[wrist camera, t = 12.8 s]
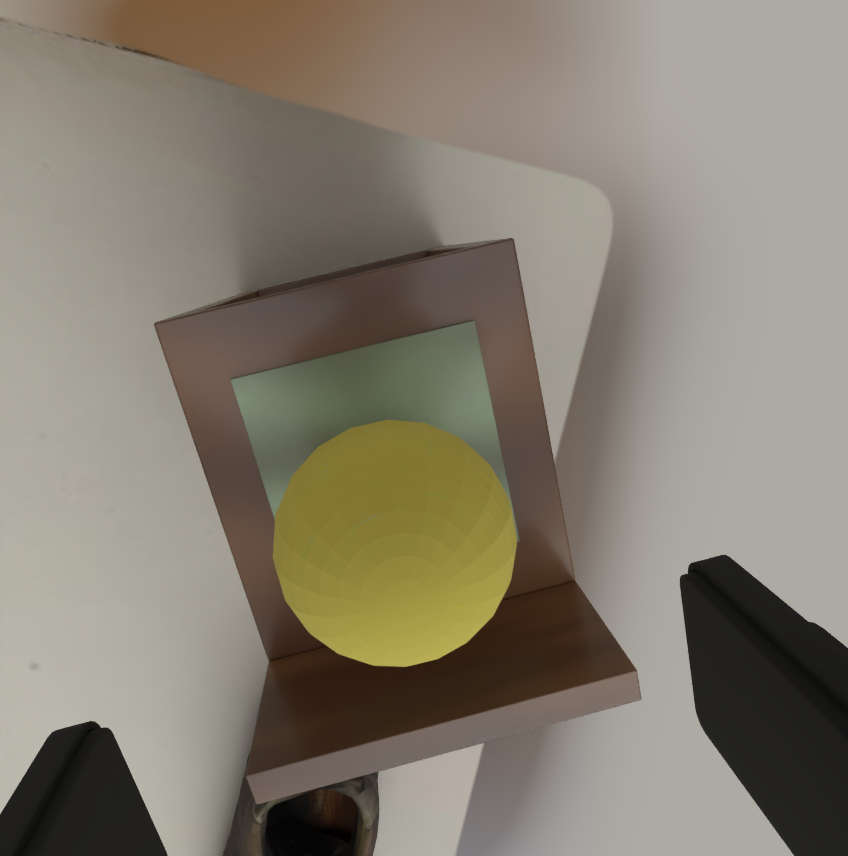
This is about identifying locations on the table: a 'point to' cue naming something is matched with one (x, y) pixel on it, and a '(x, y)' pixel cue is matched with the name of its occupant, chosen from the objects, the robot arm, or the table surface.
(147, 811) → the robot arm
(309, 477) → the light bulb
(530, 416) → the wooden frame
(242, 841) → the shoe
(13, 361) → the table surface
